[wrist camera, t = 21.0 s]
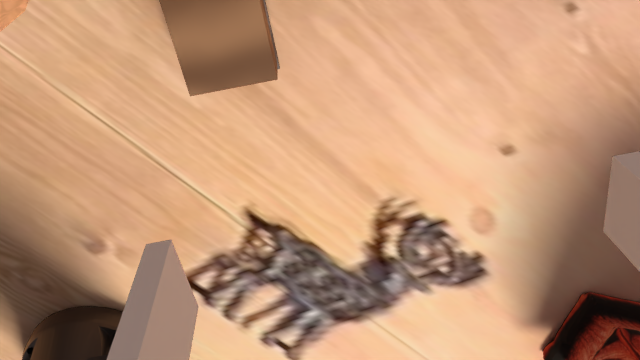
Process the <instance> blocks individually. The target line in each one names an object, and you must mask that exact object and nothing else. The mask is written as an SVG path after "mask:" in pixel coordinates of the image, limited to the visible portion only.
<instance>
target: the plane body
mask: <svg viewBox="0 0 640 360" xmlns="http://www.w3.org/2000/svg"><path fill="white" fill-rule="evenodd" d="M159 1H160V4H161V7H162V10H163V13H164V16H165V19H166V23H167V26H168V29H169V32H170V35H171V38H172V41H173V44H174V47H175V51H176V54H177V57H178V60H179V63H180V66H181V69H182V72H183V75H184V79H185V82H186V85H187V88H188V91H189V94H190V96H194V95H199V94H204V93H210V92H215V91H220V90H225V89H230V88H236V87H241V86H246V85H251V84H256V83H262V82H267V81H272V80H277V69H280V66H279V62H278V57H277V52H276V48H275V43H274V39H273V34H272V30H271V25H270V21H269V16H268V12H267V7H266V3H265V0H159Z"/></svg>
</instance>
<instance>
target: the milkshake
mask: <svg viewBox="0 0 640 360" xmlns="http://www.w3.org/2000/svg"><path fill="white" fill-rule="evenodd" d="M27 3H28V0H0V32H1V31H2V30H3V29H4V28H5V27H7V26H8V25H9V24H10V23H11V22H13V21H14V20H15V19H16V18H17V17H19V16H20V15H21V14H22V13H23V12H24V11H25V10H26V7H27Z"/></svg>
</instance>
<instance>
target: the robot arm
mask: <svg viewBox="0 0 640 360" xmlns="http://www.w3.org/2000/svg"><path fill="white" fill-rule="evenodd" d="M603 232H604V233H605V234H606V235H607V236H608V237H609V238H610V240H611V241H612V242H613V243H614V244H615V245H616V246H617V247H618V248H619V250H620V251H621V252H622V253H623V254H624V255H625V256H626V257H627V258H628V260H629V261H630V262H631V263H632V264H633V265H634V266H635V267H636V268H637V270H638V271H639V272H640V152H639V151H637V152H632V153H627V154H621V155H616V156H613V157H612V165H611V173H610V181H609V189H608V197H607V205H606V213H605V221H604V229H603ZM197 311H198V304H197V302H196V299H195V297H194V295H193V292H192V290H191V287H190V285H189V282H188V280H187V277H186V275H185V272H184V270H183V267H182V265H181V263H180V260H179V258H178V255H177V253H176V250H175V248H174V245H173V243H172V240H166V241H161V242H156V243H151V244H146V246H145V249H144V252H143V255H142V258H141V261H140V263H139V266H138V269H137V272H136V275H135V278H134V281H133V284H132V287H131V290H130V293H129V296H128V299H127V302H126V304H125V307H124V310H123V312H121V311H117V310H114V309H109V308H103V307H76V308H70V309H66V310H63V311H60V312H57V313H55V314H53V315H51V316H49V317H47V318H46V319H44V320H43V321H42V322H41V323H40V324H39V325H38V326H37V327H36V328H35V330H34V331H33V333H32V335H31V337H30V339H29V341H28V343H27V345H26V347H25V350H24V353H23V357H22V360H189V357H190V351H191V346H192V340H193V334H194V329H195V323H196V317H197Z"/></svg>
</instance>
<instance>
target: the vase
mask: <svg viewBox="0 0 640 360" xmlns="http://www.w3.org/2000/svg"><path fill="white" fill-rule="evenodd" d="M543 359H544V360H640V303H639V302H634V301H629V300H624V299H619V298H614V297H609V296H604V295H600V294H596V293H592V292H589V293H585V294H582V295H581V297H580V298H579V300H578V302H577V304H576V305H575V307H574V308H573V309H572V311H571V312H570V314H569V315H568V317H567V318H566V320H565V321H564V323H563V325H562V327H561V328H560V330H559V331H558V332H557V335H556V338H555V340H554V341H553V342H551V343H549V344H548V345H547V346H546V347H545V348H544V350H543Z"/></svg>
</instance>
